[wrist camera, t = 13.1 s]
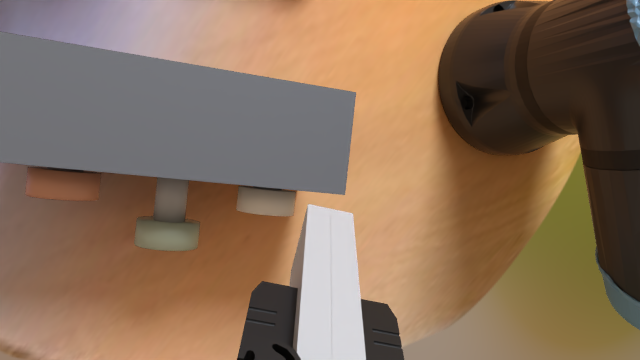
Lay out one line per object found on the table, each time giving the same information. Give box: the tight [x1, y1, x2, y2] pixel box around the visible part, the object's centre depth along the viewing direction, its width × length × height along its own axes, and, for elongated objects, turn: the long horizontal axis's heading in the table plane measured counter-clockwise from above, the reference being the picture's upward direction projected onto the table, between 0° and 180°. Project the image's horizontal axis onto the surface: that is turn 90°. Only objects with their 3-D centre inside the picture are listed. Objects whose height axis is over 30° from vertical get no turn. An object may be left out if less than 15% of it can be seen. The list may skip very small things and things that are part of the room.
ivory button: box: [236, 186, 296, 216], centre depth 37 cm, size 4×6×4 cm
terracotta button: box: [25, 167, 101, 201], centre depth 33 cm, size 4×6×4 cm
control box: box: [0, 32, 356, 195], centre depth 35 cm, size 22×7×11 cm, turn 84°
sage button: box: [134, 177, 200, 251], centre depth 35 cm, size 4×6×4 cm
